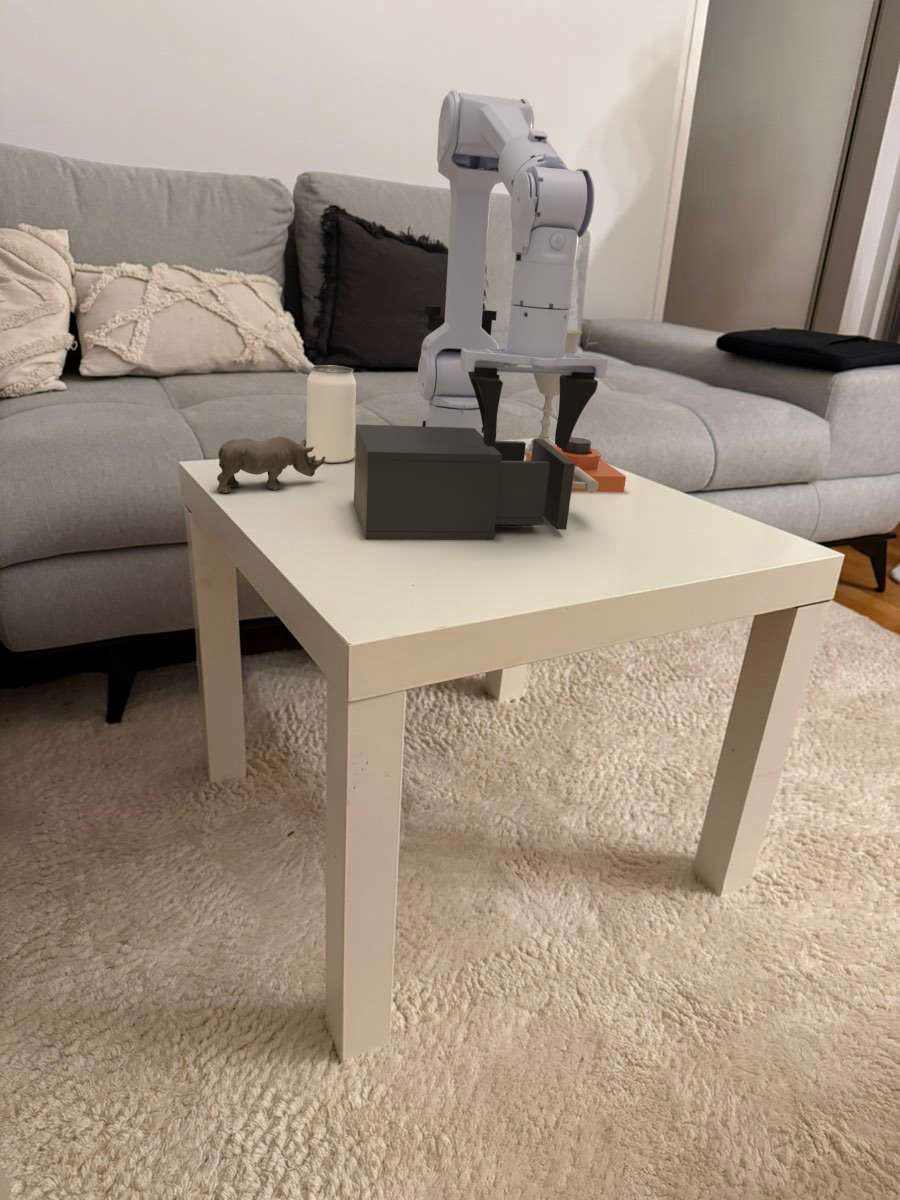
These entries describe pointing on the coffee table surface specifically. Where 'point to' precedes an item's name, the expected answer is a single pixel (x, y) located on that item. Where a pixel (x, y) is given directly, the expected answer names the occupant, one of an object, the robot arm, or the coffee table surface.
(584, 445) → the button
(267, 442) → the rhino figurine
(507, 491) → the drawer
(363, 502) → the cabinet
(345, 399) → the can
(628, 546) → the coffee table surface
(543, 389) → the chalice
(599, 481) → the control block
